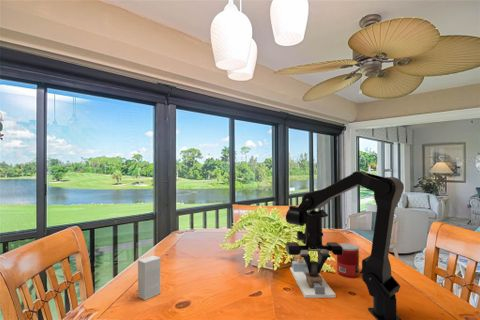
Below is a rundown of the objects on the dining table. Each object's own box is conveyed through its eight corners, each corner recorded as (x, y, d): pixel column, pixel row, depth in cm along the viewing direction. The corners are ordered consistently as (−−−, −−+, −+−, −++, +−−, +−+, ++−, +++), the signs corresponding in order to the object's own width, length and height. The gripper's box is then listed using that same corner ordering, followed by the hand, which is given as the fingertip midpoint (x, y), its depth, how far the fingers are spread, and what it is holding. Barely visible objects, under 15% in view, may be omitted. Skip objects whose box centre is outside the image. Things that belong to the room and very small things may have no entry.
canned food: (361, 279, 99) (360, 249, 99) (338, 277, 101) (338, 248, 101) (356, 271, 107) (356, 243, 107) (335, 269, 108) (335, 242, 109)
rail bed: (335, 297, 85) (335, 285, 85) (304, 297, 85) (304, 285, 85) (314, 269, 108) (314, 259, 108) (290, 269, 108) (290, 259, 108)
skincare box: (153, 289, 90) (154, 254, 90) (160, 293, 87) (161, 257, 88) (137, 296, 85) (137, 259, 86) (144, 301, 83) (144, 262, 83)
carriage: (322, 287, 89) (322, 265, 90) (309, 287, 89) (309, 265, 90) (317, 280, 94) (317, 259, 95) (305, 280, 94) (305, 259, 95)
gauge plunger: (302, 259, 104) (302, 254, 104) (296, 259, 104) (296, 254, 104) (301, 257, 106) (301, 252, 106) (295, 257, 106) (295, 252, 106)
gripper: (331, 223, 100) (331, 264, 100) (283, 223, 100) (283, 264, 100) (343, 230, 89) (343, 276, 89) (289, 230, 89) (289, 276, 89)
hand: (313, 273), depth 92 cm, fingers closed on carriage, 3 cm apart
